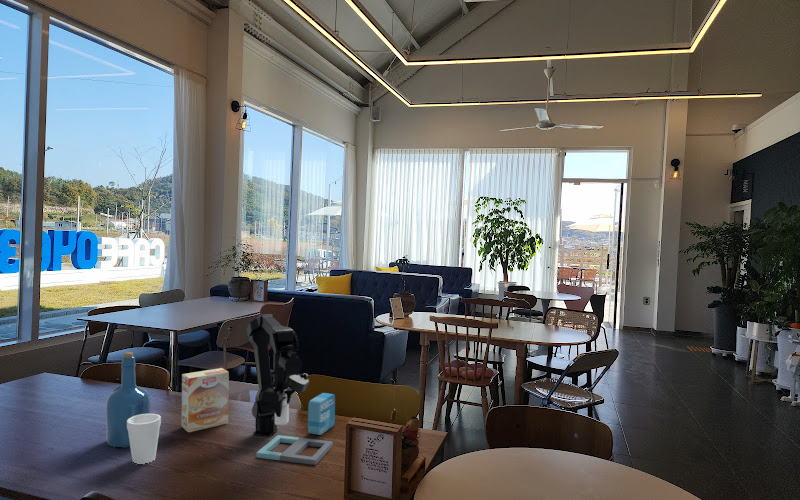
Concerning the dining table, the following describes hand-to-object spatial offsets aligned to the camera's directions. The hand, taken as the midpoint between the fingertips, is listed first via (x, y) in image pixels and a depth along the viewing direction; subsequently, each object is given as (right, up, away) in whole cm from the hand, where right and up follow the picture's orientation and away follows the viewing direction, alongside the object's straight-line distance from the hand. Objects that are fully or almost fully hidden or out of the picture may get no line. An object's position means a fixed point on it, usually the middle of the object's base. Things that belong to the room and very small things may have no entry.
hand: (281, 414), depth 177 cm
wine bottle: (-53, -11, +5) cm, 54 cm away
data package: (+10, -11, +19) cm, 24 cm away
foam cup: (-41, -12, -9) cm, 43 cm away
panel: (+5, -12, -1) cm, 13 cm away
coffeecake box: (-32, -10, +20) cm, 40 cm away
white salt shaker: (0, -3, 0) cm, 3 cm away
